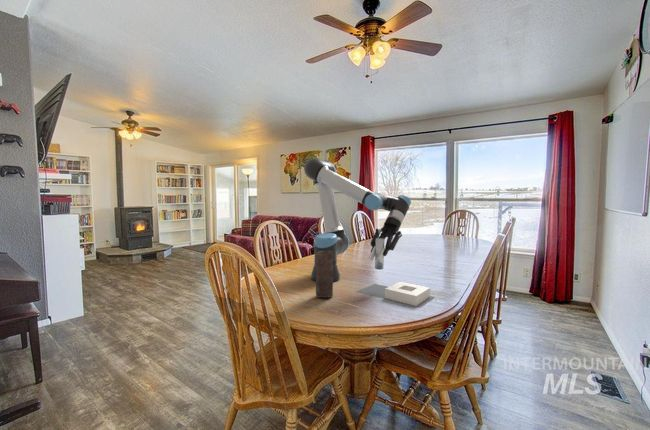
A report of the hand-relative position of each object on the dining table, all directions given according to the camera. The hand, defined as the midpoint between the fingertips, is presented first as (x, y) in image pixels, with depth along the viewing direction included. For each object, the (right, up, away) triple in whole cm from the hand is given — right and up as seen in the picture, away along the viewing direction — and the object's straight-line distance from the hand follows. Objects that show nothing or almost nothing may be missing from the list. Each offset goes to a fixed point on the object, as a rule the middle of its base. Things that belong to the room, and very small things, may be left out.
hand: (375, 259), depth 137 cm
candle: (-23, -15, -6) cm, 28 cm away
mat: (+8, -15, -4) cm, 18 cm away
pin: (+2, -4, +3) cm, 6 cm away
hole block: (+13, -15, -8) cm, 21 cm away
